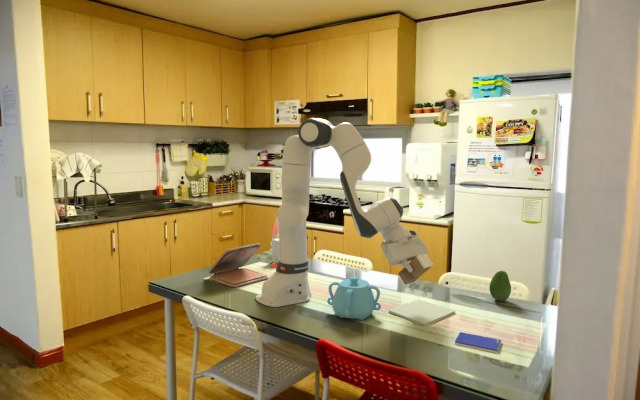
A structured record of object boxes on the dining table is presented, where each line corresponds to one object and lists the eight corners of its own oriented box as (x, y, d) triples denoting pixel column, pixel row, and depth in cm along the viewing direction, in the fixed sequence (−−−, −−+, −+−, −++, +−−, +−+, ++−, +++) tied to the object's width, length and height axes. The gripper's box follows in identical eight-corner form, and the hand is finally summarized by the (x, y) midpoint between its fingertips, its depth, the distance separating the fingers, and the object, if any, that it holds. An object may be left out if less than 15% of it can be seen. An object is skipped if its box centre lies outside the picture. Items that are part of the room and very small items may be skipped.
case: (243, 270, 217) (242, 237, 215) (271, 279, 203) (270, 244, 201) (206, 279, 203) (205, 244, 201) (233, 289, 188) (232, 252, 186)
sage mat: (425, 325, 151) (425, 323, 151) (388, 312, 163) (388, 310, 163) (455, 313, 162) (455, 310, 162) (418, 301, 174) (418, 299, 174)
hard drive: (501, 339, 138) (460, 331, 144) (498, 349, 131) (454, 340, 137) (501, 344, 139) (459, 335, 144) (497, 354, 131) (454, 345, 137)
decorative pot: (384, 320, 156) (385, 282, 154) (342, 326, 150) (343, 286, 149) (363, 304, 171) (364, 269, 169) (324, 309, 165) (325, 273, 164)
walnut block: (405, 284, 164) (425, 267, 157) (397, 273, 166) (417, 255, 159) (413, 282, 168) (433, 264, 160) (406, 270, 170) (425, 253, 162)
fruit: (510, 299, 178) (512, 269, 176) (510, 305, 171) (511, 274, 169) (489, 296, 181) (491, 267, 180) (487, 302, 174) (489, 272, 172)
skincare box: (285, 263, 230) (285, 239, 228) (278, 264, 227) (278, 241, 225) (278, 260, 234) (278, 237, 233) (271, 262, 231) (271, 238, 230)
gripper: (383, 237, 160) (405, 270, 154) (418, 230, 173) (439, 260, 167) (374, 247, 164) (394, 280, 158) (409, 240, 177) (429, 269, 171)
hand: (418, 269), depth 162 cm, fingers closed on walnut block, 5 cm apart
